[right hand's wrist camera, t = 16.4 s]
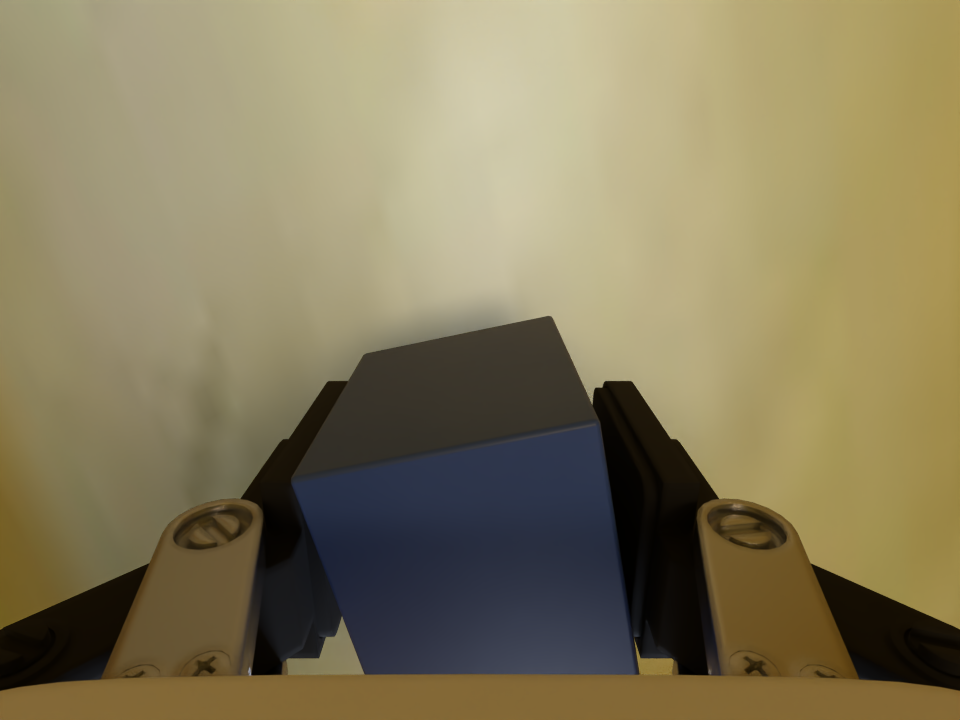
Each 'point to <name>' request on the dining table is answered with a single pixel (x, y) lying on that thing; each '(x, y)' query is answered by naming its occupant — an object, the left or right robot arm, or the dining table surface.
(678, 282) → the dining table surface
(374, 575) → the brick
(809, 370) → the dining table surface
